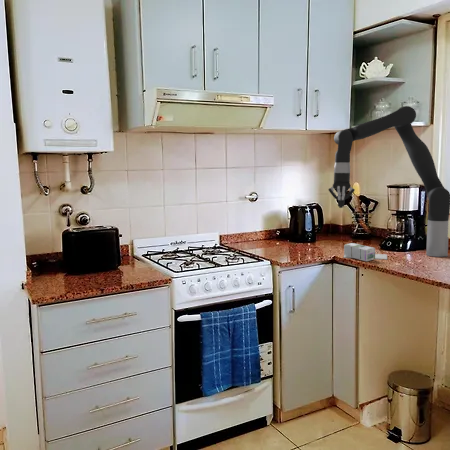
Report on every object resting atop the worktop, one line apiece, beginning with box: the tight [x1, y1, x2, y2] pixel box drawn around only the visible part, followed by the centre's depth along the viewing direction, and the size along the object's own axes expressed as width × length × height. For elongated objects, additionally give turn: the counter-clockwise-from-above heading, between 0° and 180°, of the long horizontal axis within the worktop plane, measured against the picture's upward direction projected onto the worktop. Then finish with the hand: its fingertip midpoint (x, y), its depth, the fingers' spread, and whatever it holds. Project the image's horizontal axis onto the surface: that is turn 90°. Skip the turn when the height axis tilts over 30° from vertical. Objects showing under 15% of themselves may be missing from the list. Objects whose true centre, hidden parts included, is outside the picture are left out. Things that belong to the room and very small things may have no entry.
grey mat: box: [342, 253, 388, 261], centre depth 229 cm, size 20×12×1 cm, turn 72°
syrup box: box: [343, 242, 376, 262], centre depth 224 cm, size 6×6×14 cm
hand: (340, 207), depth 230 cm, fingers closed
